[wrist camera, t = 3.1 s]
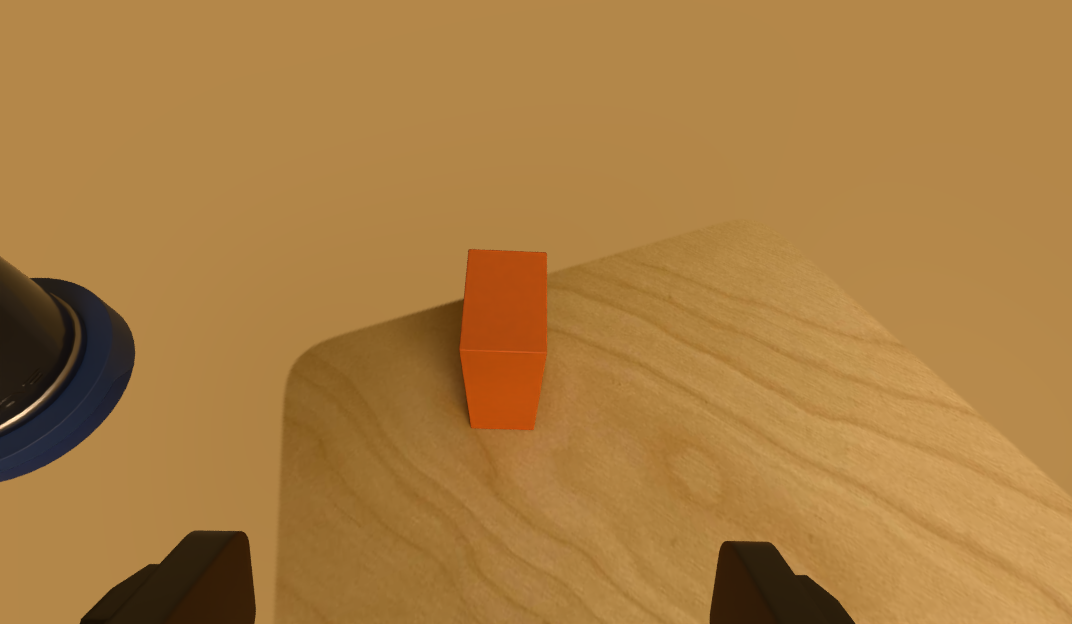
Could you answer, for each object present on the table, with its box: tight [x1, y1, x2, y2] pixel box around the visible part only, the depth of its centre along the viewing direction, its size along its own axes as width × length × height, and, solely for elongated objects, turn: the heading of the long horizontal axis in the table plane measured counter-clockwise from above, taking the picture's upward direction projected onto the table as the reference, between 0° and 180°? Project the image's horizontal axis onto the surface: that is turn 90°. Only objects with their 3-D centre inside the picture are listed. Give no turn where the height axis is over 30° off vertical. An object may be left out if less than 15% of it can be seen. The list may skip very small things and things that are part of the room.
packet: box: [459, 249, 547, 430], centre depth 27 cm, size 4×5×10 cm
